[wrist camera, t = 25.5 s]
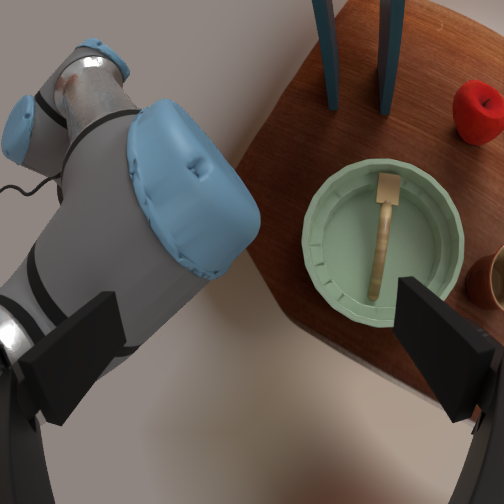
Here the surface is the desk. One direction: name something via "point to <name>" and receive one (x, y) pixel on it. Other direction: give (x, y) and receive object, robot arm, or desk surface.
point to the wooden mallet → (383, 227)
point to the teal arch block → (387, 51)
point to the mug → (487, 282)
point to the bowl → (365, 234)
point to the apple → (478, 112)
